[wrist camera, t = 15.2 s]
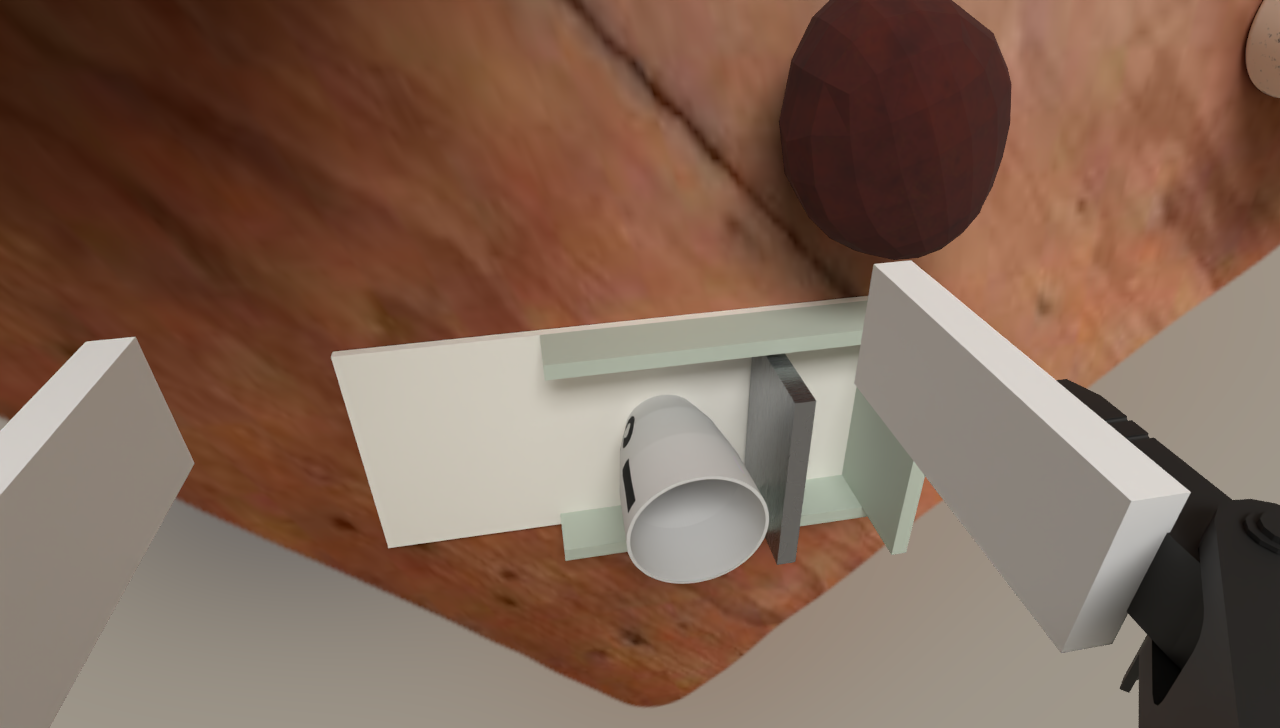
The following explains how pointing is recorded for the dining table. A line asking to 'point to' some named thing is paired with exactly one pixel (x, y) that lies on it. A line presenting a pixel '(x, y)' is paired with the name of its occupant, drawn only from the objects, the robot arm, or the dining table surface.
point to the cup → (685, 494)
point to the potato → (894, 123)
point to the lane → (605, 421)
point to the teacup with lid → (1265, 49)
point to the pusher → (779, 447)
